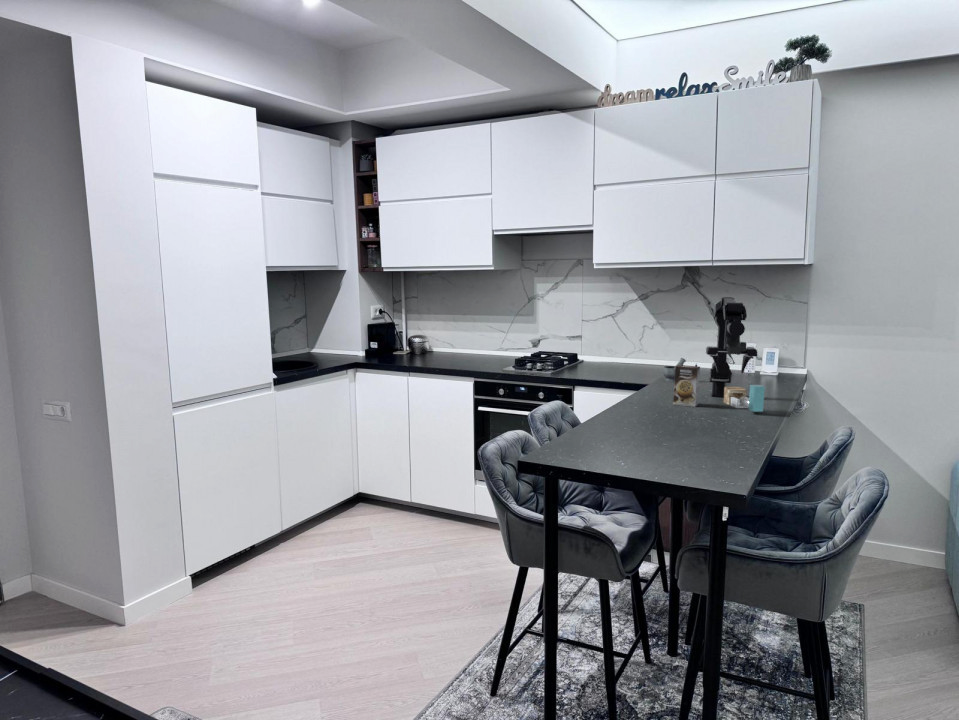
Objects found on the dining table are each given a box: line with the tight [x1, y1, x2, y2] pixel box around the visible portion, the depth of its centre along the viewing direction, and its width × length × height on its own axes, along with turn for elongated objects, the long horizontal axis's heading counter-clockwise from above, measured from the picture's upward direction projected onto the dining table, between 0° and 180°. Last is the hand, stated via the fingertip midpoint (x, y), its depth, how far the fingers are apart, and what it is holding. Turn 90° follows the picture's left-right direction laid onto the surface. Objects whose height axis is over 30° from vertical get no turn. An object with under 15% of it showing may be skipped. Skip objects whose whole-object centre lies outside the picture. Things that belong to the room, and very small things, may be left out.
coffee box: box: [672, 364, 701, 407], centre depth 275 cm, size 9×6×16 cm
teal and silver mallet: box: [739, 384, 766, 412], centre depth 264 cm, size 14×4×10 cm, turn 3°
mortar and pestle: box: [662, 357, 687, 383], centre depth 334 cm, size 11×9×12 cm
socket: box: [723, 386, 747, 406], centre depth 279 cm, size 5×7×7 cm
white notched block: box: [730, 396, 749, 409], centre depth 273 cm, size 6×6×3 cm
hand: (729, 372), depth 267 cm, fingers open, 9 cm apart
